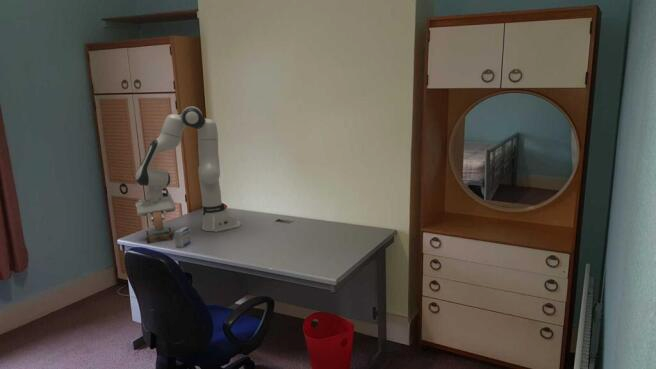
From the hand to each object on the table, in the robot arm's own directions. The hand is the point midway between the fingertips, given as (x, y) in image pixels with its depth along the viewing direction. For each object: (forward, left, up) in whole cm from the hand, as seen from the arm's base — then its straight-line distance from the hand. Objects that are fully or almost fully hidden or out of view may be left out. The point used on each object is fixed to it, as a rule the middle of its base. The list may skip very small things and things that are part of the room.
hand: (158, 219), depth 255 cm
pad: (-1, -16, -11) cm, 20 cm away
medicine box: (-11, +15, -12) cm, 22 cm away
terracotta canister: (0, -1, -6) cm, 6 cm away
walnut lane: (0, -4, -11) cm, 12 cm away
